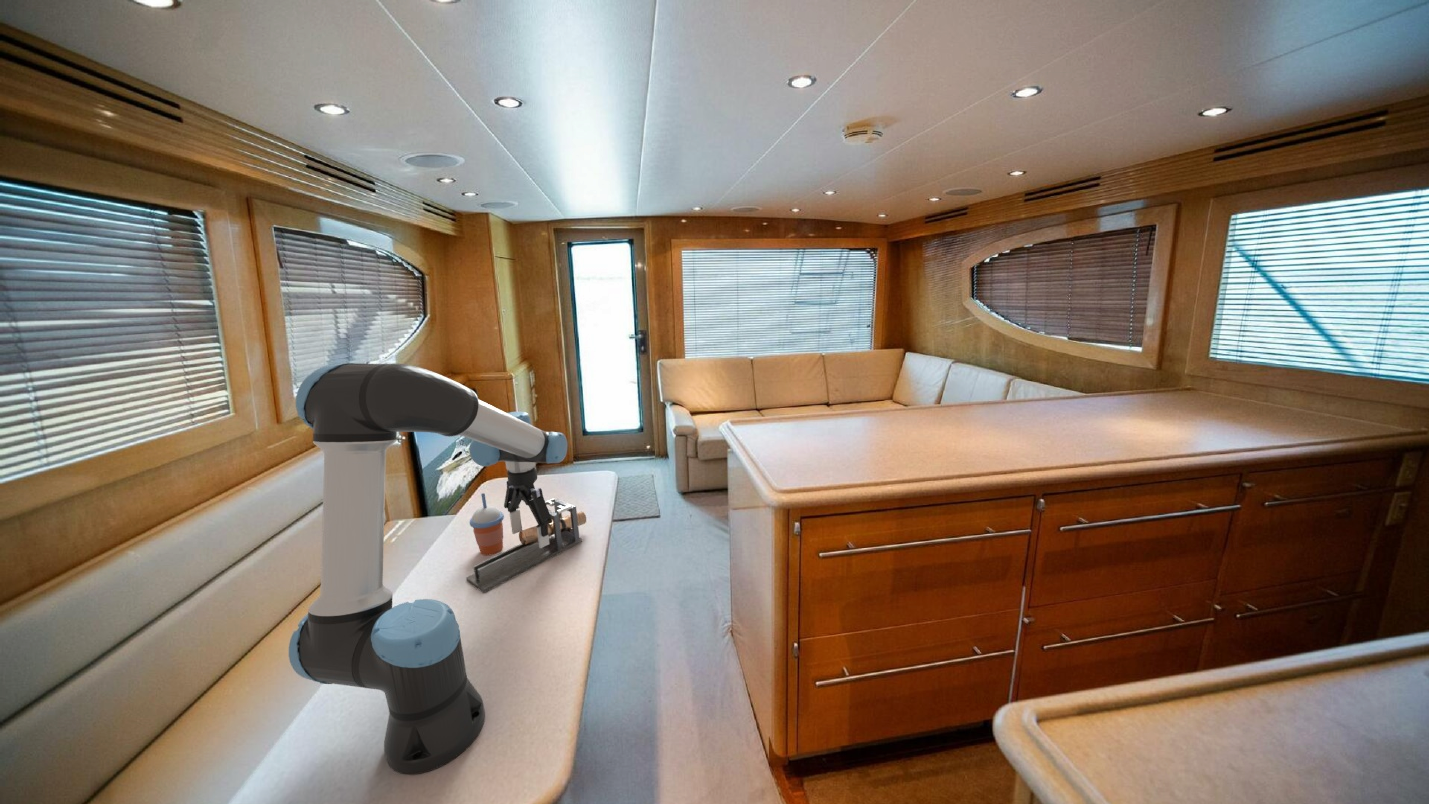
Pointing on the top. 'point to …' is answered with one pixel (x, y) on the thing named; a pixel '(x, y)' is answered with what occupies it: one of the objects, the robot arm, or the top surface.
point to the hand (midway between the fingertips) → (530, 538)
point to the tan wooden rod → (550, 528)
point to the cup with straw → (488, 528)
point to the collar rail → (527, 552)
